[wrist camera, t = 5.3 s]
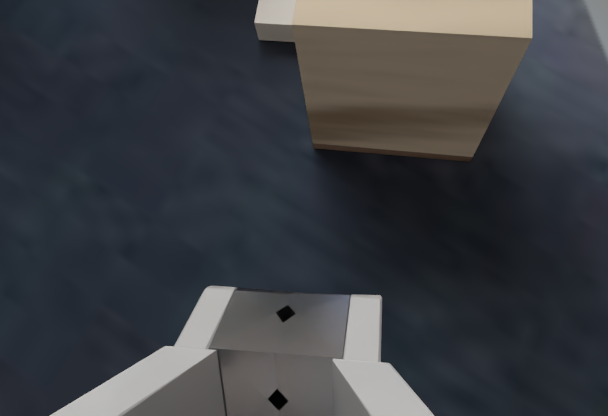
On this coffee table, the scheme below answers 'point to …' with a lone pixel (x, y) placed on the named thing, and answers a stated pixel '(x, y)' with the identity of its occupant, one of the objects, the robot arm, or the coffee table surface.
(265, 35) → the board
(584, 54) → the coffee table surface
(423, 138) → the birch block
